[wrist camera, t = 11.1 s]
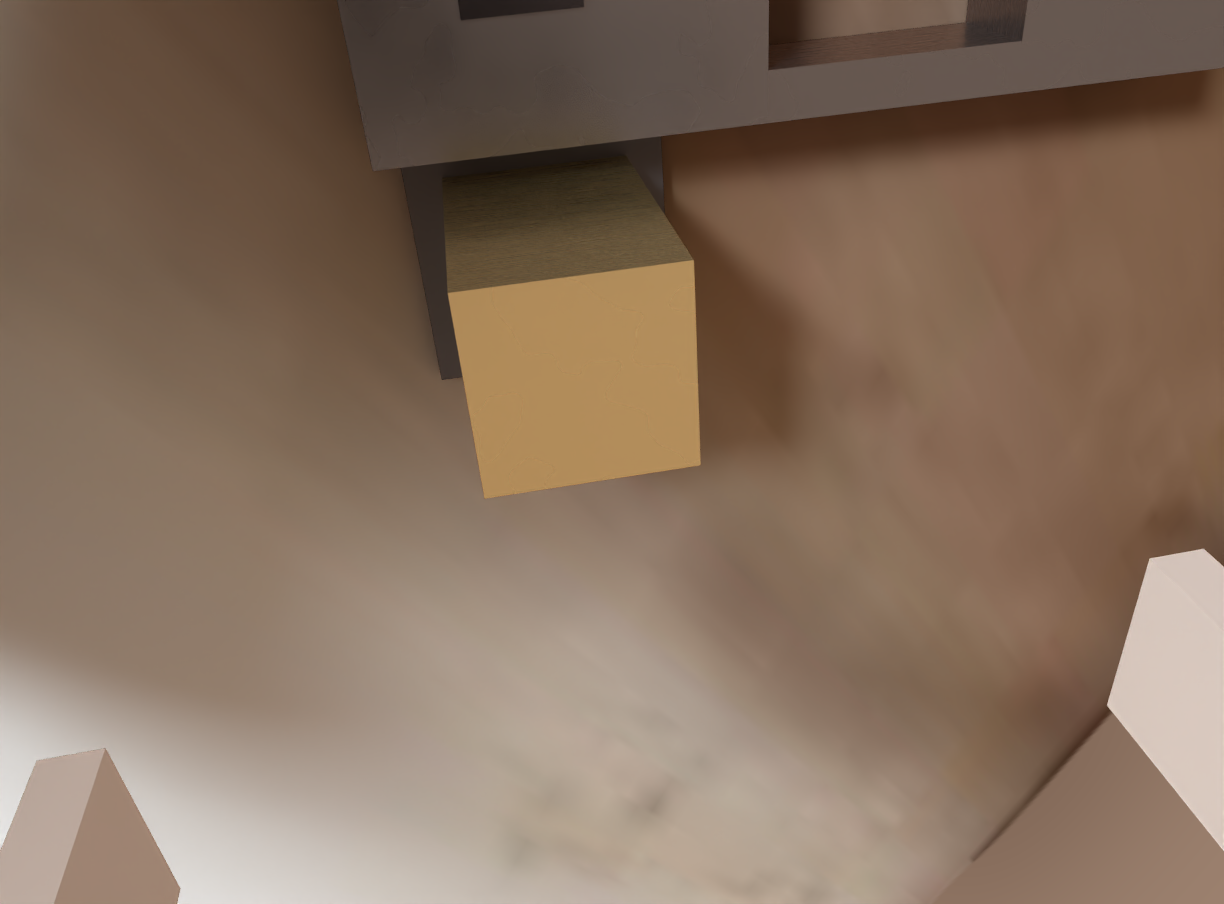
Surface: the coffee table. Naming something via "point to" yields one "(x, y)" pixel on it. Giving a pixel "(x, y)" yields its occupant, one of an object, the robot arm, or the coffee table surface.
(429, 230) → the rubber mat
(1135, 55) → the rack rail
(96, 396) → the coffee table surface
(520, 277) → the yellow rectangular block
